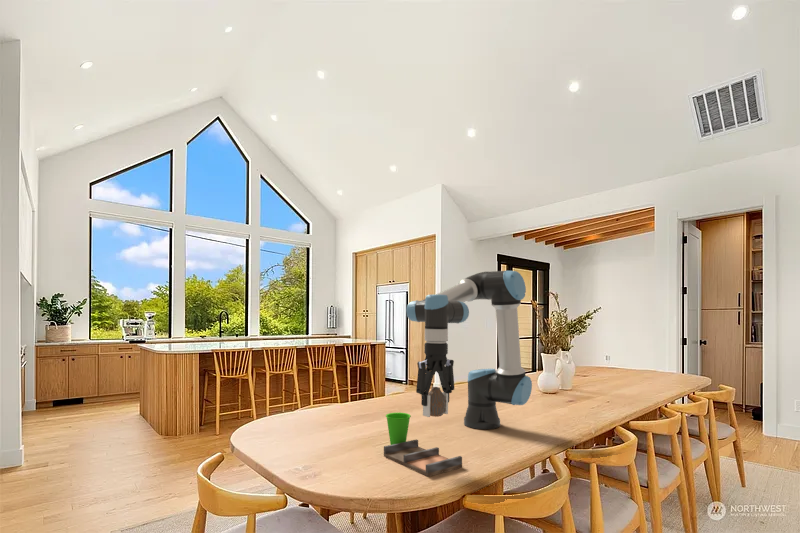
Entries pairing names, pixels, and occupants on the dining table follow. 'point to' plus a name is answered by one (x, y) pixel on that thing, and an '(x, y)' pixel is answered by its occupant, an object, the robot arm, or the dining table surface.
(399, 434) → the cup
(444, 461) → the rack
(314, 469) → the dining table surface
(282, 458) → the dining table surface
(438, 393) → the vase
